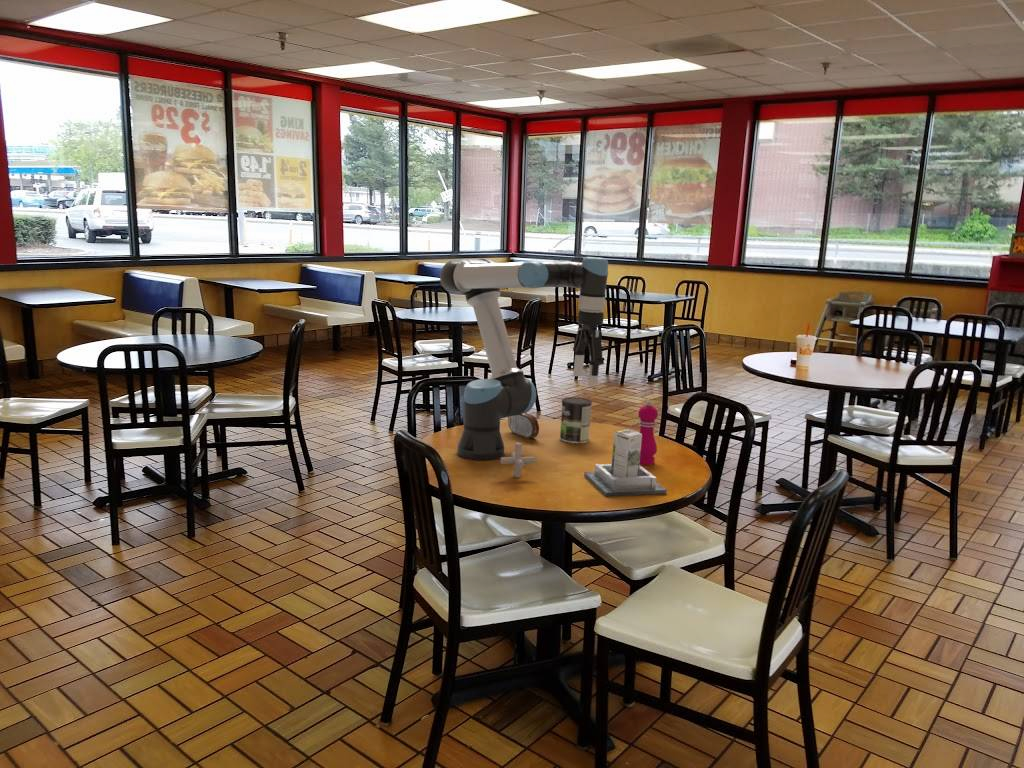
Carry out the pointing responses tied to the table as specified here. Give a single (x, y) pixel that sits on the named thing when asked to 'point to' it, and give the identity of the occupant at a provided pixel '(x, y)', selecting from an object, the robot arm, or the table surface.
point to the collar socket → (623, 482)
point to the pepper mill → (647, 433)
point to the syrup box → (626, 453)
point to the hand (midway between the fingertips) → (584, 381)
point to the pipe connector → (517, 459)
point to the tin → (524, 425)
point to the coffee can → (575, 420)
